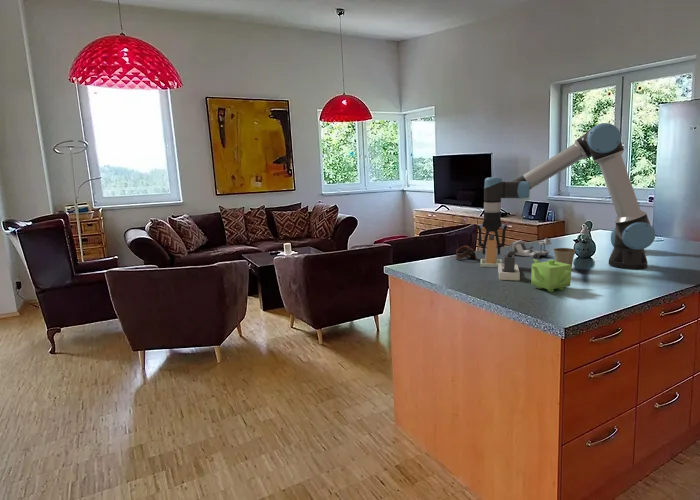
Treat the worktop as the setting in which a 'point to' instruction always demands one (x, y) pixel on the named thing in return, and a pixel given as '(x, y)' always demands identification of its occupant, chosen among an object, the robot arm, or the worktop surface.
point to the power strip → (508, 268)
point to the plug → (491, 250)
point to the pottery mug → (465, 252)
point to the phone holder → (521, 250)
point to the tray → (485, 264)
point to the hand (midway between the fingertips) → (491, 261)
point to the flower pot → (564, 255)
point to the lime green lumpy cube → (550, 275)
